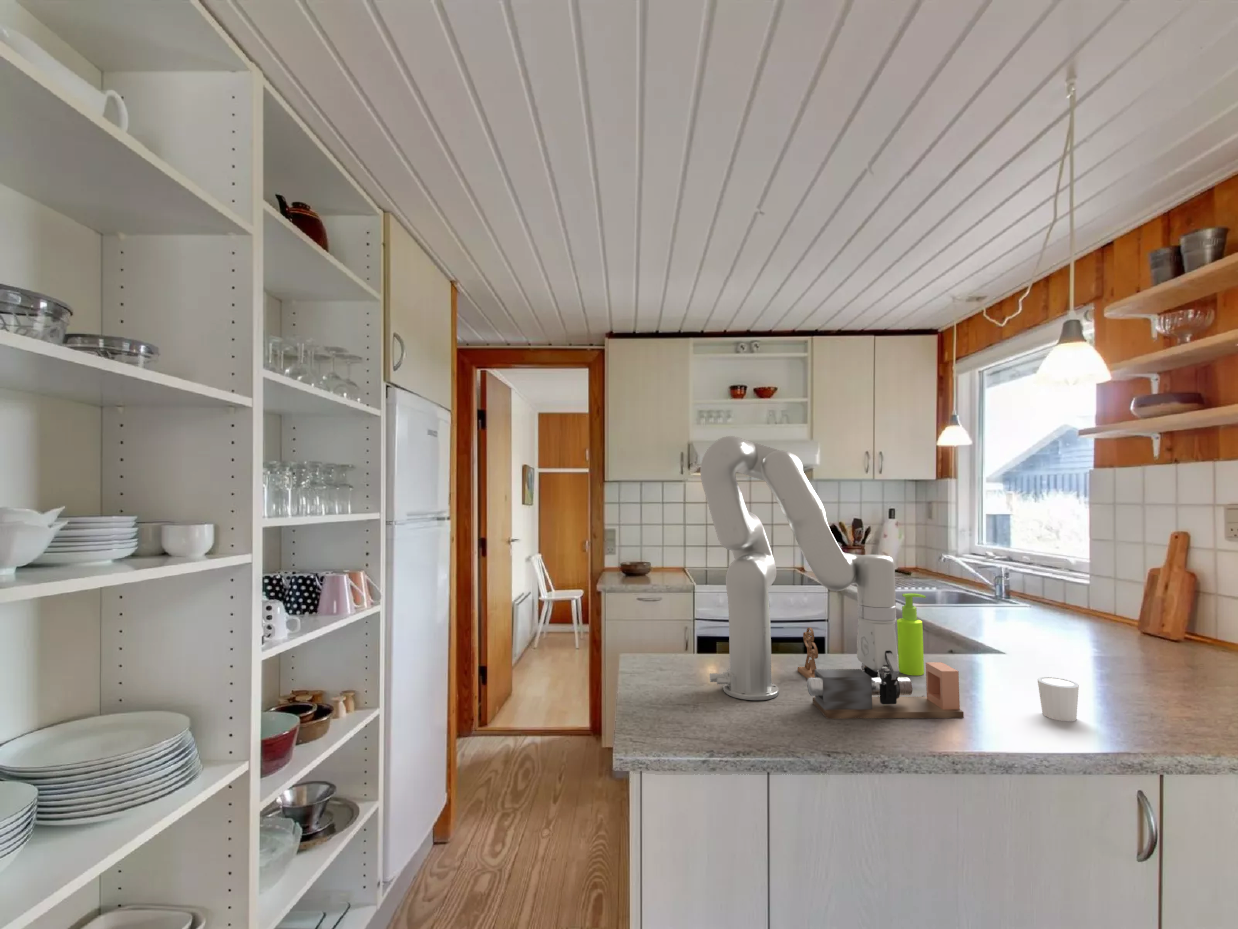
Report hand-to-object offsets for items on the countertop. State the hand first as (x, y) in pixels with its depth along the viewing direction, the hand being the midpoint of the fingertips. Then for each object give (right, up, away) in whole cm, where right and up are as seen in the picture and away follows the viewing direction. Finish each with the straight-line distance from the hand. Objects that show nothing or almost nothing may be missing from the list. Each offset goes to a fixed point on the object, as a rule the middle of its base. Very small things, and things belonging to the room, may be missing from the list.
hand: (879, 696), depth 125 cm
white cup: (+35, -3, -4) cm, 36 cm away
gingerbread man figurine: (-7, -4, +24) cm, 25 cm away
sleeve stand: (+1, -3, 0) cm, 3 cm away
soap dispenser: (+20, -4, +26) cm, 33 cm away
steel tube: (-4, -1, 0) cm, 4 cm away
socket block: (+14, -2, 0) cm, 14 cm away
